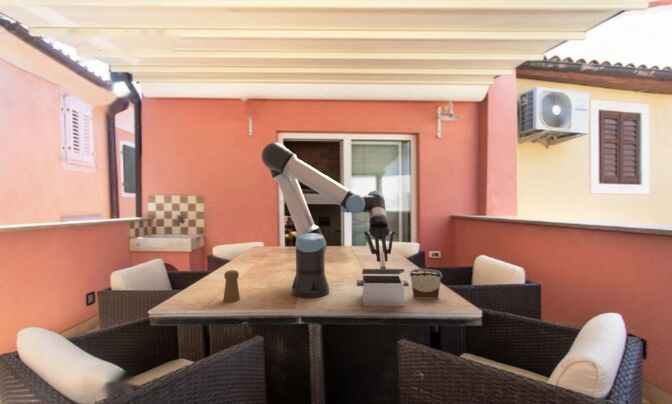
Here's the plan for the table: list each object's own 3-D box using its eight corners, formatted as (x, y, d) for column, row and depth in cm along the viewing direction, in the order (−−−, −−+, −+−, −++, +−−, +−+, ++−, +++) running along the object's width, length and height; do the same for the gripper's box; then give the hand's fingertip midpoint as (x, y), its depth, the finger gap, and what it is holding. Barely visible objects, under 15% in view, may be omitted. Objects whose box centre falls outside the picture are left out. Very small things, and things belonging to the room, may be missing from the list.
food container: (438, 293, 127) (438, 268, 127) (442, 298, 121) (442, 272, 121) (407, 293, 128) (407, 268, 128) (409, 297, 122) (409, 271, 122)
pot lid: (363, 271, 113) (363, 268, 114) (361, 274, 125) (361, 272, 126) (404, 271, 113) (404, 269, 113) (399, 274, 125) (399, 272, 125)
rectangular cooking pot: (357, 305, 113) (357, 283, 113) (356, 295, 125) (356, 275, 125) (410, 306, 112) (410, 283, 112) (404, 296, 124) (404, 275, 124)
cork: (243, 299, 121) (242, 270, 121) (228, 303, 116) (228, 273, 116) (234, 296, 125) (234, 268, 125) (220, 299, 120) (220, 270, 120)
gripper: (392, 226, 139) (399, 273, 122) (362, 226, 139) (364, 273, 122) (394, 214, 133) (402, 262, 117) (362, 214, 133) (365, 262, 117)
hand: (383, 268), depth 120 cm, fingers closed
